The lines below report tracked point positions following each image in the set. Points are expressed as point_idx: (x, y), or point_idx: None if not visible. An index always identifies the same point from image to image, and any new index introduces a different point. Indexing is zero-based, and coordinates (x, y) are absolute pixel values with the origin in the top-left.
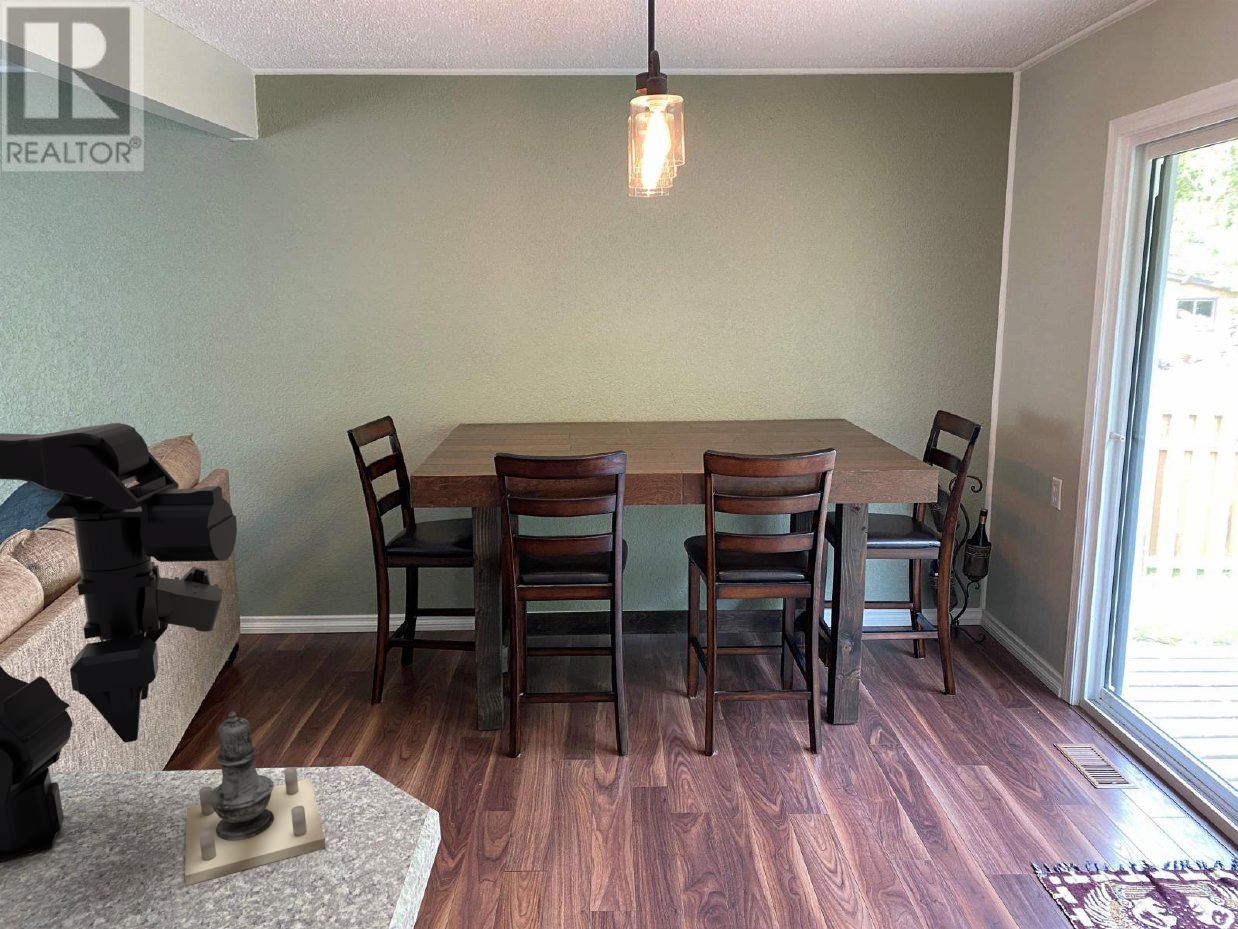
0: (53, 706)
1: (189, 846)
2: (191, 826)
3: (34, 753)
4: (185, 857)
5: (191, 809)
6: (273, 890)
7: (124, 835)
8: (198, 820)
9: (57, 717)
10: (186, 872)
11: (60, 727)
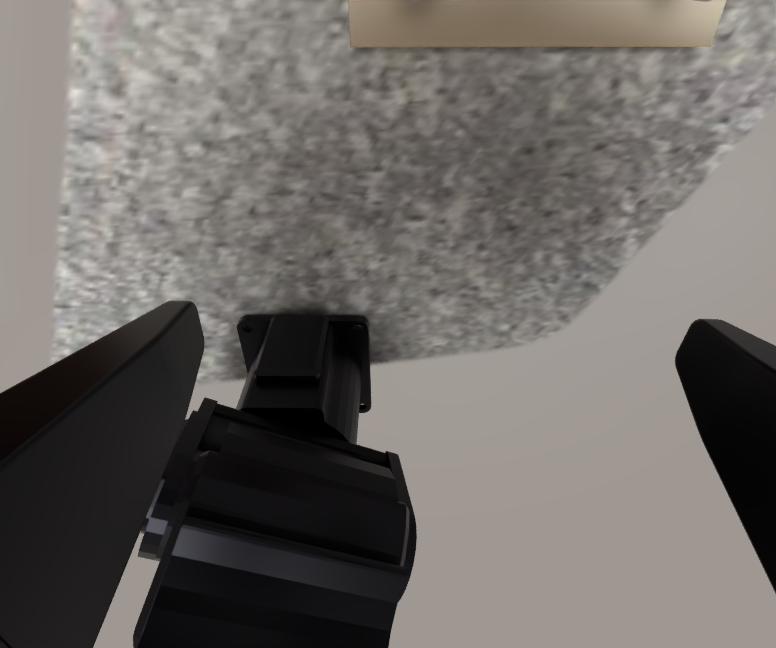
0: (222, 564)
1: (574, 35)
2: (467, 30)
3: (391, 509)
4: (621, 46)
5: (368, 32)
6: None
7: (372, 196)
8: (446, 8)
9: (237, 520)
10: (699, 42)
11: (260, 489)
